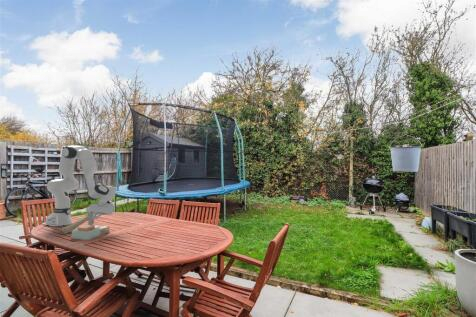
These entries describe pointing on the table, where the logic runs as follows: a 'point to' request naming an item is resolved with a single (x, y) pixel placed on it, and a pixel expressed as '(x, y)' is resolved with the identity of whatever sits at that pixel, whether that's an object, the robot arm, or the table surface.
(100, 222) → the table surface
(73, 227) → the hammer
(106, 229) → the board
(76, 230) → the box
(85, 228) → the block
